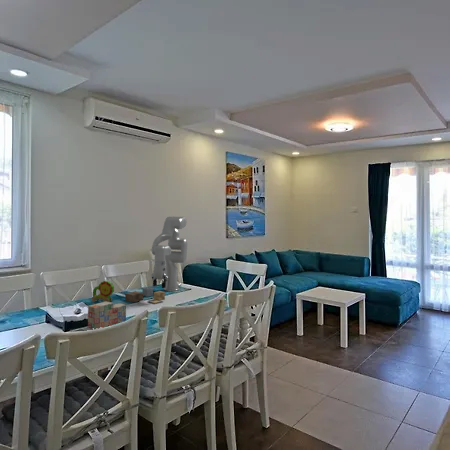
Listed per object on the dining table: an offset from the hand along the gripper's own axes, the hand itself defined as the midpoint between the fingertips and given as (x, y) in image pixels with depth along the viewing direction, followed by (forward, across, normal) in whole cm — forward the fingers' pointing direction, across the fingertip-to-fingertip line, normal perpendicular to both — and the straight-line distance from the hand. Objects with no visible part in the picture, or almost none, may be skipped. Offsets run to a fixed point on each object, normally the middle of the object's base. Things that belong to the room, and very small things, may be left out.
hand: (159, 286), depth 262 cm
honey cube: (+9, +1, -1) cm, 9 cm away
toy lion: (+10, +23, +31) cm, 40 cm away
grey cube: (+9, +17, -3) cm, 19 cm away
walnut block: (+10, +12, +13) cm, 20 cm away
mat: (+10, -3, +6) cm, 12 cm away
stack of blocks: (+12, -22, +56) cm, 61 cm away
